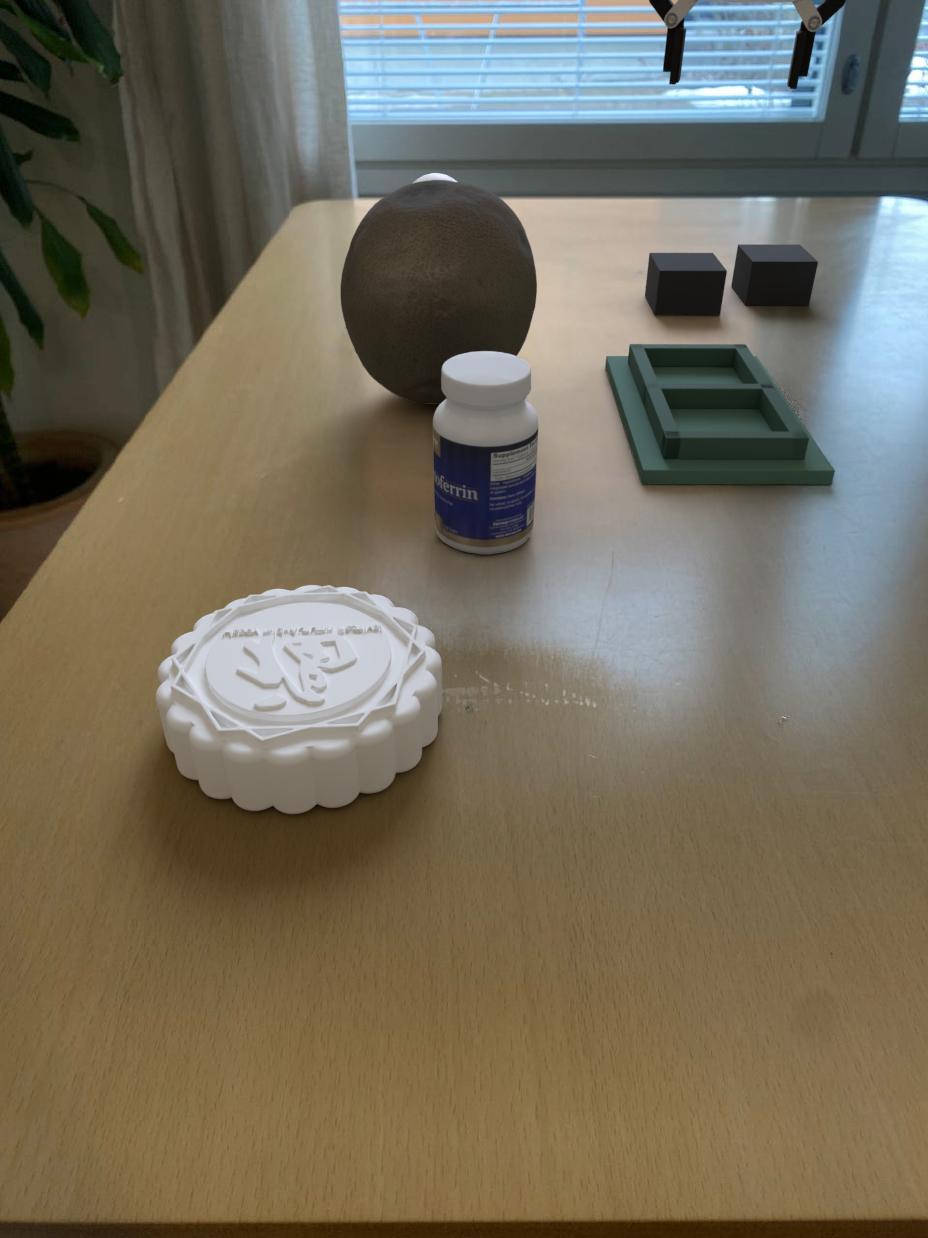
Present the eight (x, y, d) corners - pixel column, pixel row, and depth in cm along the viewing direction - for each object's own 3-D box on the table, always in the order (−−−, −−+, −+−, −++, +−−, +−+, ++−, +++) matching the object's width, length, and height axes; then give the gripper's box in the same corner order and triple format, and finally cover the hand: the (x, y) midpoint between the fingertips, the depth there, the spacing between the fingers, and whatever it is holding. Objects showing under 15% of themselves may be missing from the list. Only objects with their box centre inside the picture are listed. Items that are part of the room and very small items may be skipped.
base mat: (754, 367, 76) (760, 337, 74) (831, 484, 59) (841, 448, 58) (605, 367, 76) (607, 336, 74) (641, 484, 59) (645, 448, 58)
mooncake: (139, 824, 37) (119, 757, 35) (194, 638, 46) (181, 577, 44) (447, 812, 37) (446, 745, 35) (438, 631, 47) (437, 570, 45)
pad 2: (791, 286, 93) (800, 244, 91) (809, 305, 89) (818, 261, 86) (731, 286, 93) (737, 244, 91) (745, 305, 89) (752, 261, 86)
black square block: (706, 295, 91) (713, 252, 89) (720, 315, 86) (727, 270, 84) (644, 295, 91) (649, 252, 89) (654, 315, 86) (659, 270, 84)
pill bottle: (415, 526, 55) (409, 361, 49) (492, 499, 58) (496, 339, 52) (474, 569, 51) (475, 396, 46) (553, 537, 54) (564, 370, 48)
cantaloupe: (305, 406, 69) (282, 186, 61) (432, 354, 78) (428, 155, 69) (451, 462, 62) (449, 220, 53) (573, 397, 71) (589, 181, 62)
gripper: (891, -179, 70) (837, 83, 80) (658, -175, 74) (634, 76, 84) (903, -190, 64) (843, 94, 75) (648, -185, 68) (624, 86, 78)
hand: (732, 84), depth 79 cm, fingers open, 9 cm apart
